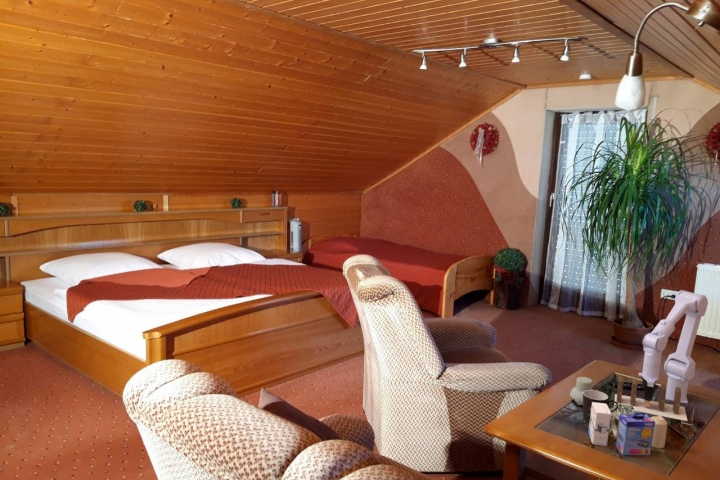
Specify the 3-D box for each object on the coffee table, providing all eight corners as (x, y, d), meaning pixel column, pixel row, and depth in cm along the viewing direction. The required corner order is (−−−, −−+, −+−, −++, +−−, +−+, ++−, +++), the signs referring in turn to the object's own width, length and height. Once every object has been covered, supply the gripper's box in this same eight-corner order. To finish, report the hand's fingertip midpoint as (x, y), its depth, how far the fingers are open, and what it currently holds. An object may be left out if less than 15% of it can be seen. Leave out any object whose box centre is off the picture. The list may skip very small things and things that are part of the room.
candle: (649, 438, 200) (653, 411, 199) (666, 444, 197) (670, 417, 195) (643, 443, 197) (647, 416, 195) (661, 450, 193) (664, 422, 191)
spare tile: (644, 405, 223) (647, 384, 222) (644, 400, 228) (647, 379, 226) (649, 406, 222) (652, 384, 221) (648, 401, 227) (651, 380, 225)
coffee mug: (576, 420, 212) (579, 394, 211) (585, 412, 219) (588, 387, 217) (608, 431, 205) (611, 405, 203) (617, 423, 211) (620, 397, 209)
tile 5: (616, 402, 227) (618, 381, 226) (616, 398, 232) (619, 376, 230) (620, 403, 227) (623, 382, 225) (621, 398, 231) (623, 377, 230)
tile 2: (658, 411, 221) (661, 389, 220) (658, 406, 226) (661, 384, 224) (663, 412, 220) (666, 389, 219) (662, 406, 225) (665, 385, 223)
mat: (614, 394, 236) (615, 393, 236) (684, 407, 225) (684, 407, 225) (614, 407, 224) (614, 406, 224) (687, 421, 214) (687, 420, 214)
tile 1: (673, 414, 219) (676, 391, 218) (672, 408, 224) (675, 386, 222) (678, 414, 218) (681, 392, 217) (677, 409, 223) (680, 387, 221)
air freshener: (575, 396, 233) (577, 372, 232) (596, 401, 229) (599, 377, 227) (567, 405, 225) (569, 381, 223) (589, 411, 220) (592, 386, 218)
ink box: (587, 432, 203) (591, 401, 201) (603, 434, 202) (606, 403, 200) (592, 444, 195) (595, 412, 193) (608, 446, 194) (611, 414, 192)
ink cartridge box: (623, 456, 188) (627, 414, 186) (614, 447, 194) (618, 407, 191) (651, 455, 189) (657, 414, 187) (642, 446, 194) (647, 406, 192)
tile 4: (630, 405, 225) (632, 383, 224) (630, 400, 230) (632, 379, 228) (634, 406, 225) (637, 384, 223) (634, 401, 229) (637, 380, 228)
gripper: (639, 356, 230) (636, 388, 233) (640, 368, 217) (636, 402, 220) (659, 359, 228) (655, 392, 230) (661, 372, 215) (657, 406, 217)
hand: (647, 397), depth 225 cm, fingers closed on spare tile, 5 cm apart
